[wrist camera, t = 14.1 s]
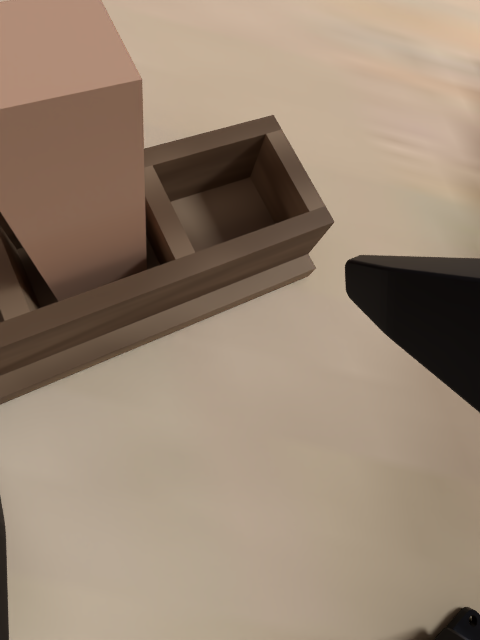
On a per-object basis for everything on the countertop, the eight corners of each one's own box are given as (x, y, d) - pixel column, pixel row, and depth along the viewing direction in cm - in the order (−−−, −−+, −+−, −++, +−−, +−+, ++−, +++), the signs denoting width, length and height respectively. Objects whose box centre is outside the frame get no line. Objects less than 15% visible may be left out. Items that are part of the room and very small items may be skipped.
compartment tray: (308, 275, 26) (343, 238, 21) (-117, 453, 19) (-208, 455, 14) (245, 159, 27) (265, 100, 23) (-170, 281, 20) (-267, 232, 15)
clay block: (147, 279, 22) (142, 79, 10) (64, 310, 21) (-59, 121, 9) (125, 232, 23) (95, -12, 11) (42, 259, 21) (-101, 15, 9)
